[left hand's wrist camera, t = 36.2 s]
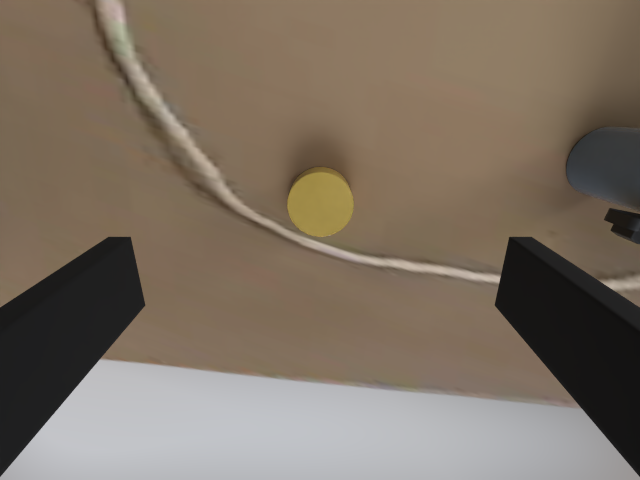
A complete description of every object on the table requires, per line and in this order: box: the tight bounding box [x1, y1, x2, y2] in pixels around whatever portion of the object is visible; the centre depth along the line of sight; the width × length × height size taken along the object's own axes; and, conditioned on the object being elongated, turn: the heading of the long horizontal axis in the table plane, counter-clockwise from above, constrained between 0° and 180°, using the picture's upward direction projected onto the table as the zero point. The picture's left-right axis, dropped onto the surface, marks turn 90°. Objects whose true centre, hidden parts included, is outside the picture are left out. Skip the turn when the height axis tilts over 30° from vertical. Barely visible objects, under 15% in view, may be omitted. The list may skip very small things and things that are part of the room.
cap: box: [287, 167, 354, 237], centre depth 25 cm, size 4×4×2 cm
